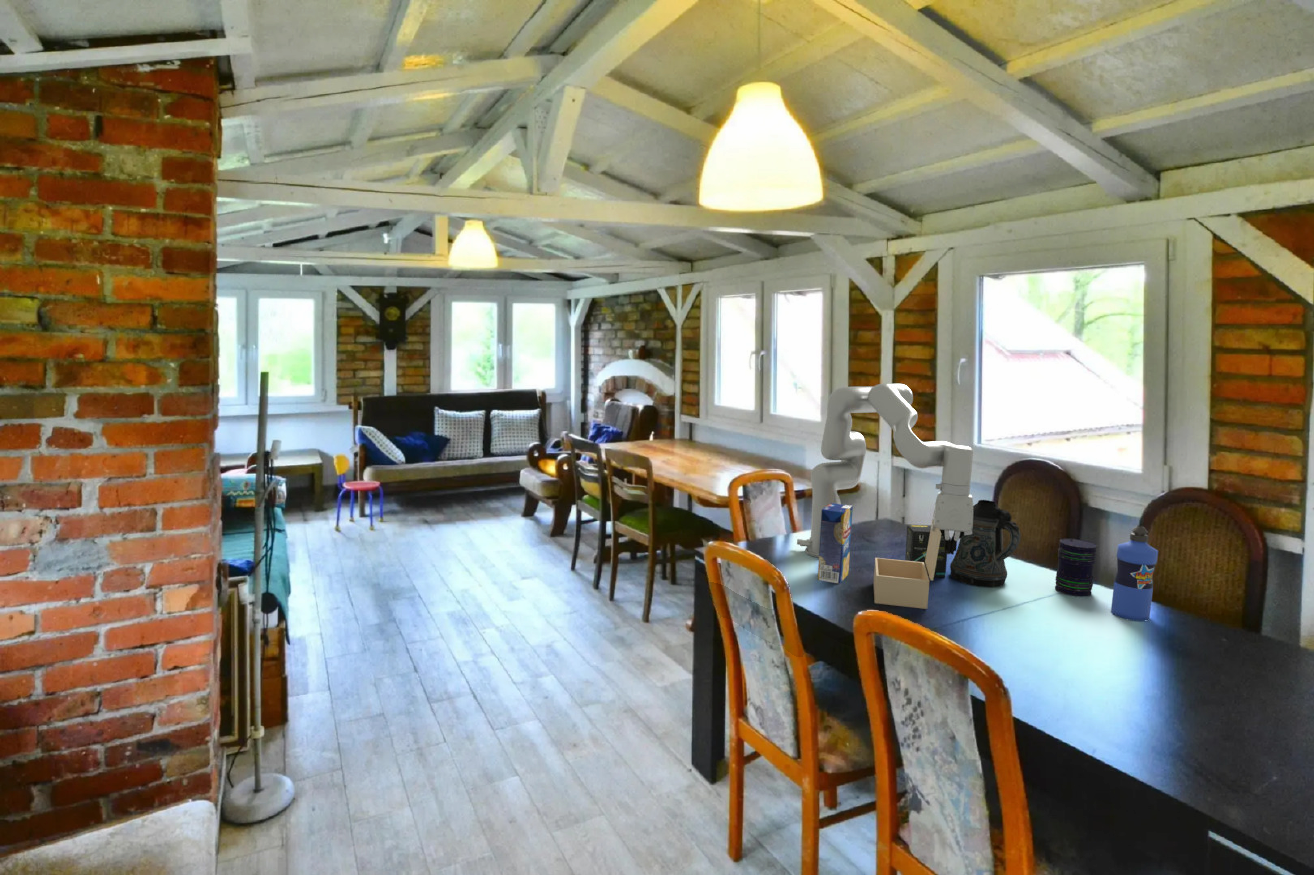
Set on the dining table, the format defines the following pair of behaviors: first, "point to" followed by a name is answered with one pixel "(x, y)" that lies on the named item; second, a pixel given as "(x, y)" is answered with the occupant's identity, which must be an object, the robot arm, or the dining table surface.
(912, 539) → the tampon box
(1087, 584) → the storage jar
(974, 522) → the beer stein
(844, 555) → the beverage box
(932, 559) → the lid
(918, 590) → the carton
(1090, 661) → the dining table surface
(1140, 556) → the water bottle
